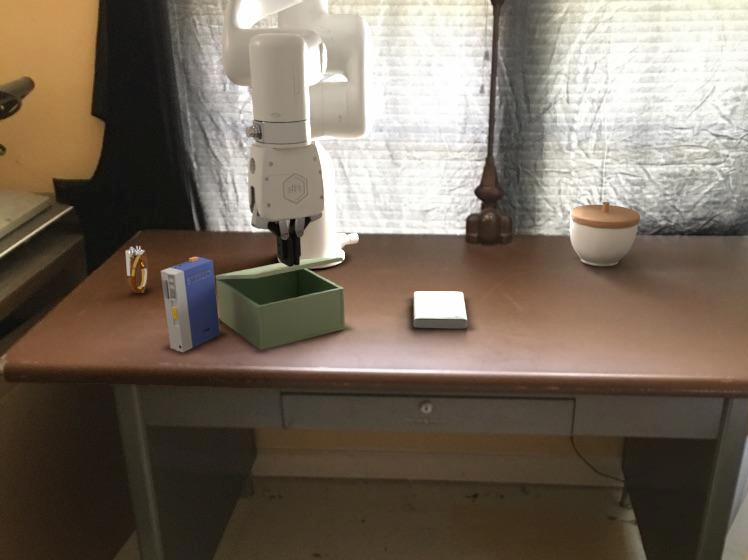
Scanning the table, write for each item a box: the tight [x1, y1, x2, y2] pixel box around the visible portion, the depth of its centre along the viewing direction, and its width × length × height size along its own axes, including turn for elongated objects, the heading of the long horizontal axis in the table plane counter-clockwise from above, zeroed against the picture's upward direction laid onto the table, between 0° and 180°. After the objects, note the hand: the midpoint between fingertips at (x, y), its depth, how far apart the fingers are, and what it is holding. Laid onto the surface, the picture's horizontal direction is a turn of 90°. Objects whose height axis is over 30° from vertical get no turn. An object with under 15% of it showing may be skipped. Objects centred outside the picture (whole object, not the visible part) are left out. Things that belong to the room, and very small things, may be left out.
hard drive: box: [413, 290, 468, 329], centre depth 135 cm, size 2×8×12 cm
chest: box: [215, 268, 346, 351], centre depth 129 cm, size 14×14×7 cm
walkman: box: [160, 256, 221, 353], centre depth 122 cm, size 8×3×12 cm, turn 148°
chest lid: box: [215, 257, 344, 280], centre depth 126 cm, size 15×14×1 cm
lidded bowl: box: [569, 201, 641, 267], centre depth 158 cm, size 13×13×11 cm
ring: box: [125, 245, 150, 294], centre depth 141 cm, size 7×3×8 cm, turn 172°
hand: (289, 263), depth 123 cm, fingers closed
